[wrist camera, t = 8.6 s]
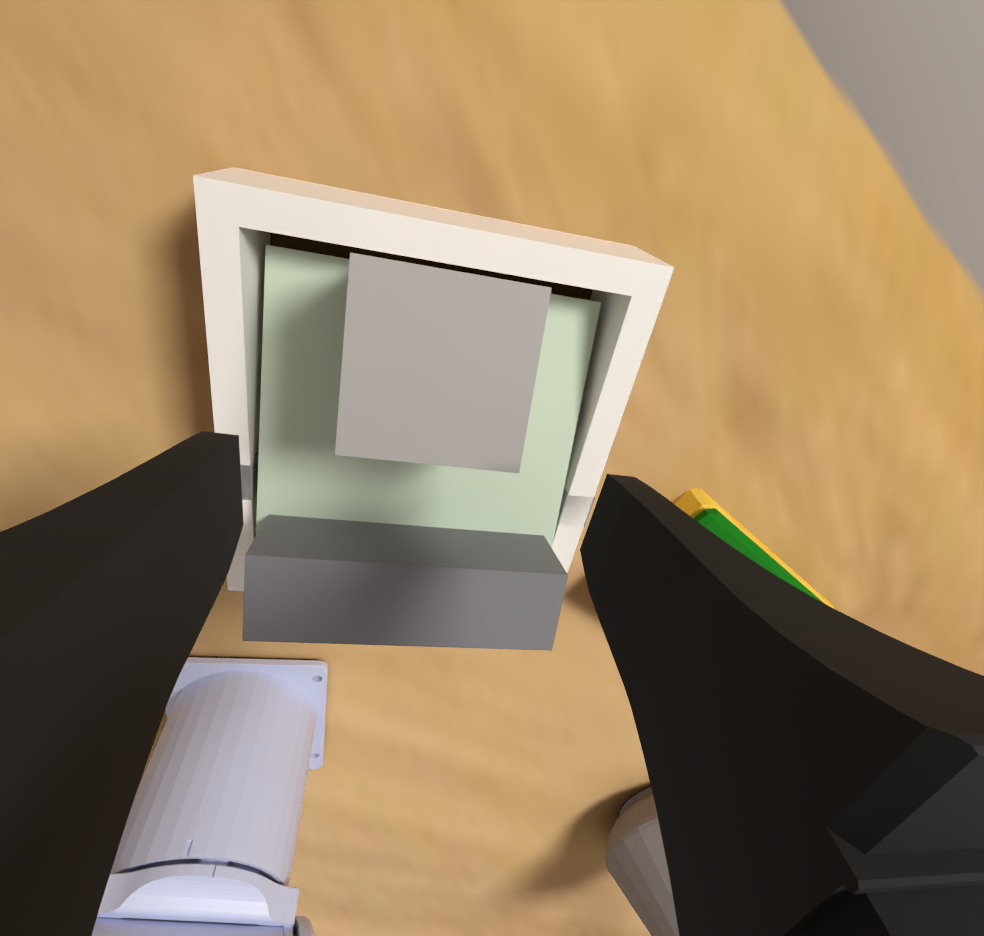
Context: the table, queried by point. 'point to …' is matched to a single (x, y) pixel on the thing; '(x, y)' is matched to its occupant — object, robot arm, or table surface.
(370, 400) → the grey block
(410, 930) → the table surface
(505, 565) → the trapdoor
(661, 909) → the coffee pot
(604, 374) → the trapdoor frame
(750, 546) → the dish sponge
